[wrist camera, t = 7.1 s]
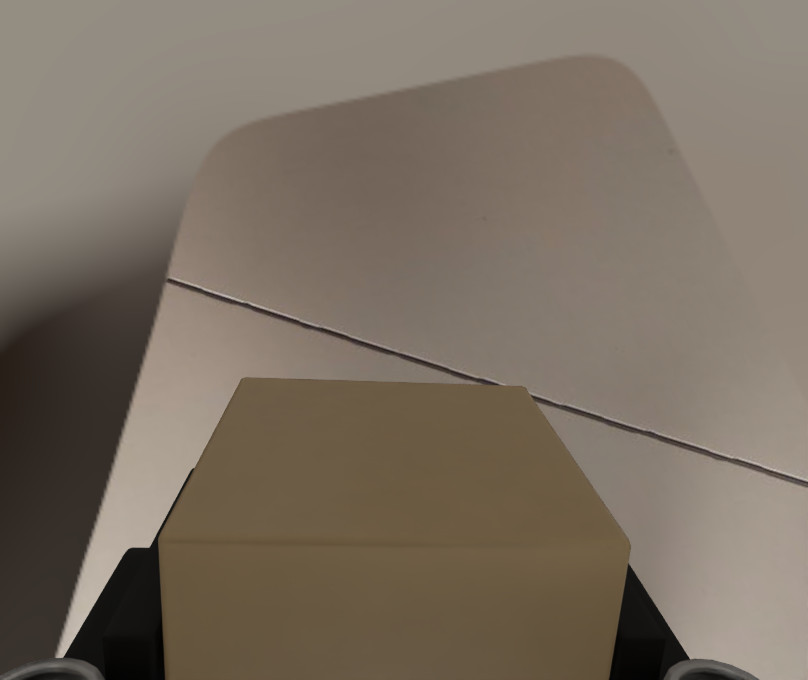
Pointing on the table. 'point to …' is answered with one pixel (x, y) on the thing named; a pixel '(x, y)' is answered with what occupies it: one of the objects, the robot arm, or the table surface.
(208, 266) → the table surface
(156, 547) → the robot arm
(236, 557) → the kraft parcel
